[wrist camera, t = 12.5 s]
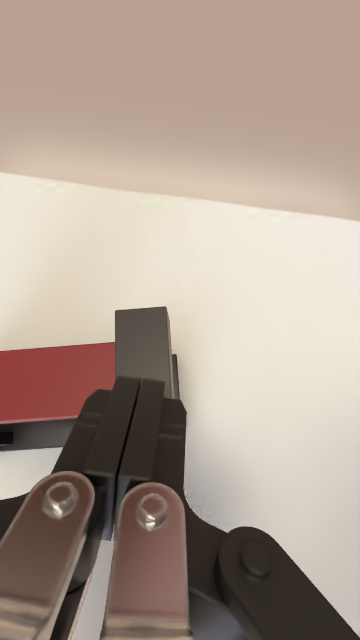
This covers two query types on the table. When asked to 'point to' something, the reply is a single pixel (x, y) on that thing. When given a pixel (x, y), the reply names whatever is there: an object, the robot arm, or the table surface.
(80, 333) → the table surface
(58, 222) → the table surface
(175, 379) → the stapler base
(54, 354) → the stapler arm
